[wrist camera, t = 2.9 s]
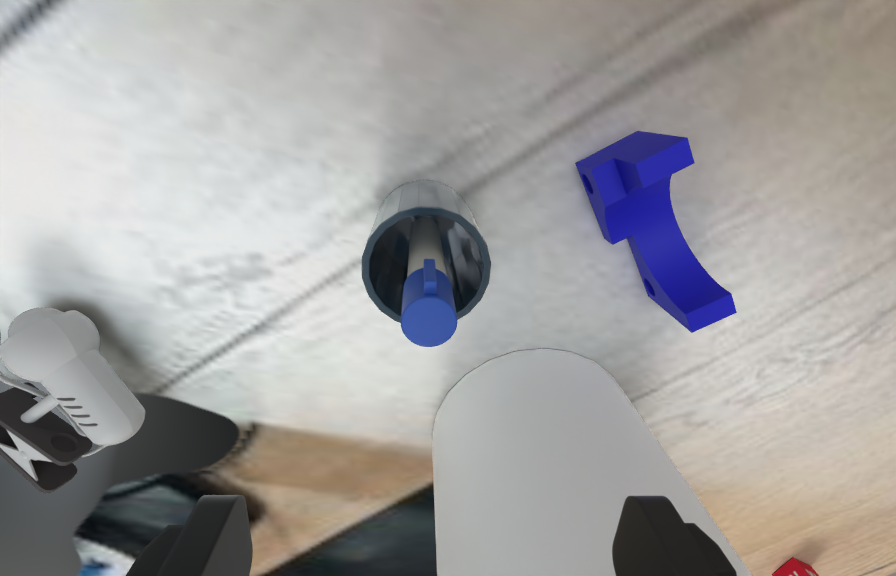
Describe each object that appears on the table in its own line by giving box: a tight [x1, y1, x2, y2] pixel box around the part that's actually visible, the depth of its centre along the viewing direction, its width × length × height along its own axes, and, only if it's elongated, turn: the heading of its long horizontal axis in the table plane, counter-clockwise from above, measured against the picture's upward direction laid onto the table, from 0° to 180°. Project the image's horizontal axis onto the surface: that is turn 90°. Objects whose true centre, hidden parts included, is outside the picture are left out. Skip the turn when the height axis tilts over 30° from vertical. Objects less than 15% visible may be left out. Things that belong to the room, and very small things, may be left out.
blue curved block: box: [575, 131, 737, 333], centre depth 30 cm, size 12×4×6 cm, turn 27°
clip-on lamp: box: [0, 307, 145, 493], centre depth 31 cm, size 12×6×18 cm
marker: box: [401, 217, 457, 347], centre depth 25 cm, size 2×3×14 cm
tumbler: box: [362, 180, 491, 323], centre depth 28 cm, size 7×7×8 cm
